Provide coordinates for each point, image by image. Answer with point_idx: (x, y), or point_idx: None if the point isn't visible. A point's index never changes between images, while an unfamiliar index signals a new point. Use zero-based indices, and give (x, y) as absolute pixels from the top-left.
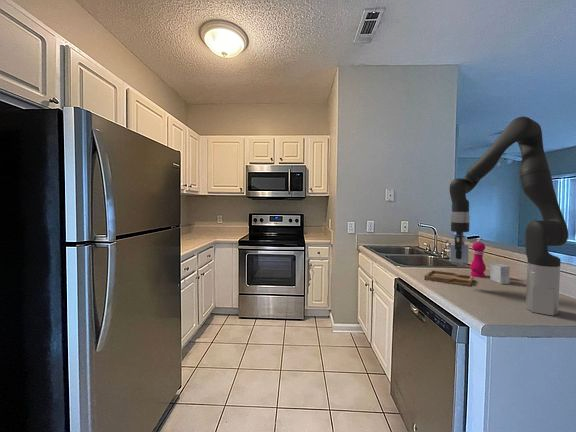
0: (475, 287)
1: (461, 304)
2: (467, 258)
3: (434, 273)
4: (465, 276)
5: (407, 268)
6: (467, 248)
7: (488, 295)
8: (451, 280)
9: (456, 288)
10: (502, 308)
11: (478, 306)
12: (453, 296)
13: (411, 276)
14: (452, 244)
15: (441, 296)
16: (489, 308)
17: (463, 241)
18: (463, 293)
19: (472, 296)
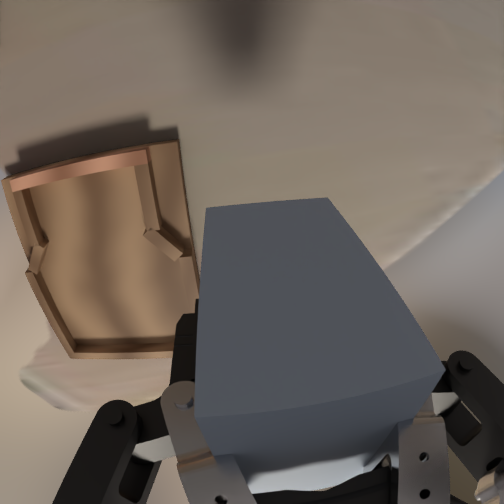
0: (175, 107)
1: (500, 141)
2: (338, 225)
3: (81, 338)
4: (31, 212)
5: (80, 407)
6: (421, 330)
7: (326, 27)
8: (179, 244)
9: (282, 187)
10: (476, 14)
11: (497, 89)
12: (434, 174)
13: None
14: (308, 488)
15: (450, 213)
16: (497, 57)
17: (409, 496)
18: (366, 141)
19: (395, 99)
